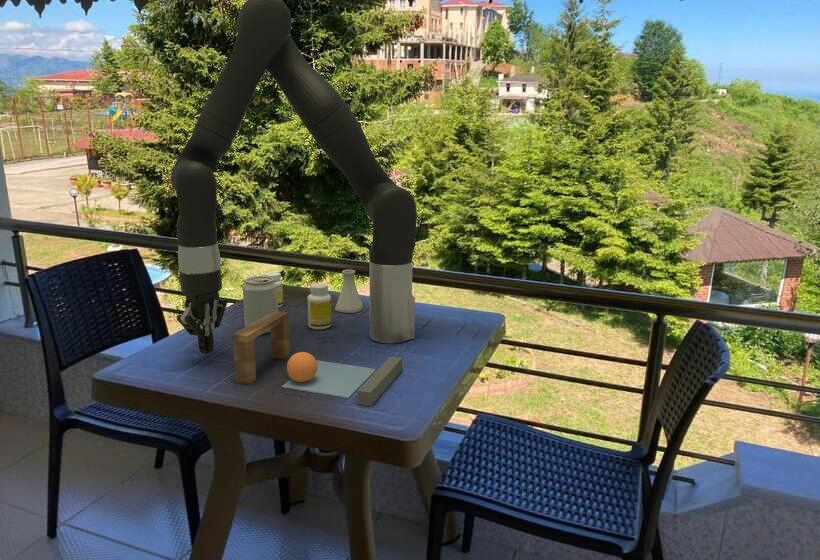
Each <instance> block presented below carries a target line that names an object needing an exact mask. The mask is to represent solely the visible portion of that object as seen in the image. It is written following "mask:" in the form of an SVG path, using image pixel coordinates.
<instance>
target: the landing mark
mask: <svg viewBox="0 0 820 560" xmlns="http://www.w3.org/2000/svg"><path fill="white" fill-rule="evenodd" d="M316 361H317V366H318V368H317V372H316V375H315V376H314V377H313V378H312V379H311V380H309V381H307V382H303V383H302V382H296V381H294V380H293V379H292V378H290V379H289V380H288V381H286V382H285V383H284V384H283V385H281V388H282V387H283V388H284V389H289V388H290V389H289V390H295V391H302V392H308V393H315V394H319V395H325V396H331V397H337V398H344V399H350V398H351V396H353V395H354V393H355V392H357V390H358V389H359V388H360V387H361V386H362V385H363V384H364V383H365V382H366V381H367V380H368V379H369V378H370V377H371V376H372V375H373V374H374V373H375V372H376V371H377V369H376V368H371V367H366V366H365V367H364V366H359V365H352V364H344V363H339V362H337V363H336V362H332V361H331V362H330V361H323V360H318V359H317V360H316ZM283 388H282V389H283Z"/></svg>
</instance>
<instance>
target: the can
mask: <svg viewBox="0 0 820 560" xmlns="http://www.w3.org/2000/svg"><path fill="white" fill-rule="evenodd" d="M273 280H274V278H272V277H269V276H264V275H254V276H250V277H249V276H248V277H247V278H245V280H244V284H243V285H242V300H243V302H242V303H243V315H244V317H243V319H244V328H245V327H246V326H248V325H250V324H252V323H254V322H256V321H257V320H259V319H261V318H263V317H265V316H266V315H268V314H270V313H272V312H274V311H279V307H278V298H277V284H276V283H275V282H274V281H273ZM269 333H270V334H271V331H270V330H268V331H266V332H265V333H263V334H269ZM263 334H262V335H263Z"/></svg>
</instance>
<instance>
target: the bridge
mask: <svg viewBox="0 0 820 560" xmlns="http://www.w3.org/2000/svg"><path fill="white" fill-rule="evenodd" d="M289 320H290V319H289V312H288V311H280V310H278V311H274V312H272V313H270V314H268V315H266V316H265V317H263V318H261V319H259V320H257V321H256V322H254V323H252V324H250V325H248V326H246V327H245V326H244V327H243V328H241V329H239V330H237V331H236V332H234V333H233V334H232V345H233V362H234V377H235V383H241V384H247V385H251V384H253V383H254V382H256V381H257V371H256V369H257V368H256V355H255V339H256V338H258V337H259V336H261V335H263V333H265V332H266V331H268V330H270V331H271V332H270V348H271V349H270V350H271V358H273V359H274V358H275V359H280V360H281V359H282V360H286V359H288V358H289V357H291V348H290V347H291V346H290V324H289V323H290V321H289ZM265 334H266V333H265Z"/></svg>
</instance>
